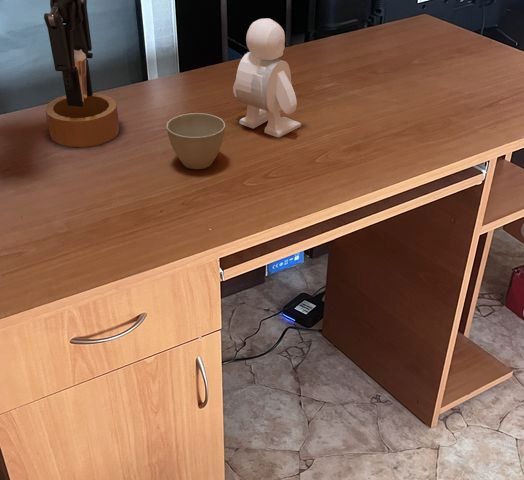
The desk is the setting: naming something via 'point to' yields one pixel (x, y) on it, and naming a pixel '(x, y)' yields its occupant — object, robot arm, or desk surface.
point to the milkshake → (81, 72)
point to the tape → (83, 121)
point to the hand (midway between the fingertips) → (80, 99)
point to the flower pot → (196, 138)
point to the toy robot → (266, 80)
